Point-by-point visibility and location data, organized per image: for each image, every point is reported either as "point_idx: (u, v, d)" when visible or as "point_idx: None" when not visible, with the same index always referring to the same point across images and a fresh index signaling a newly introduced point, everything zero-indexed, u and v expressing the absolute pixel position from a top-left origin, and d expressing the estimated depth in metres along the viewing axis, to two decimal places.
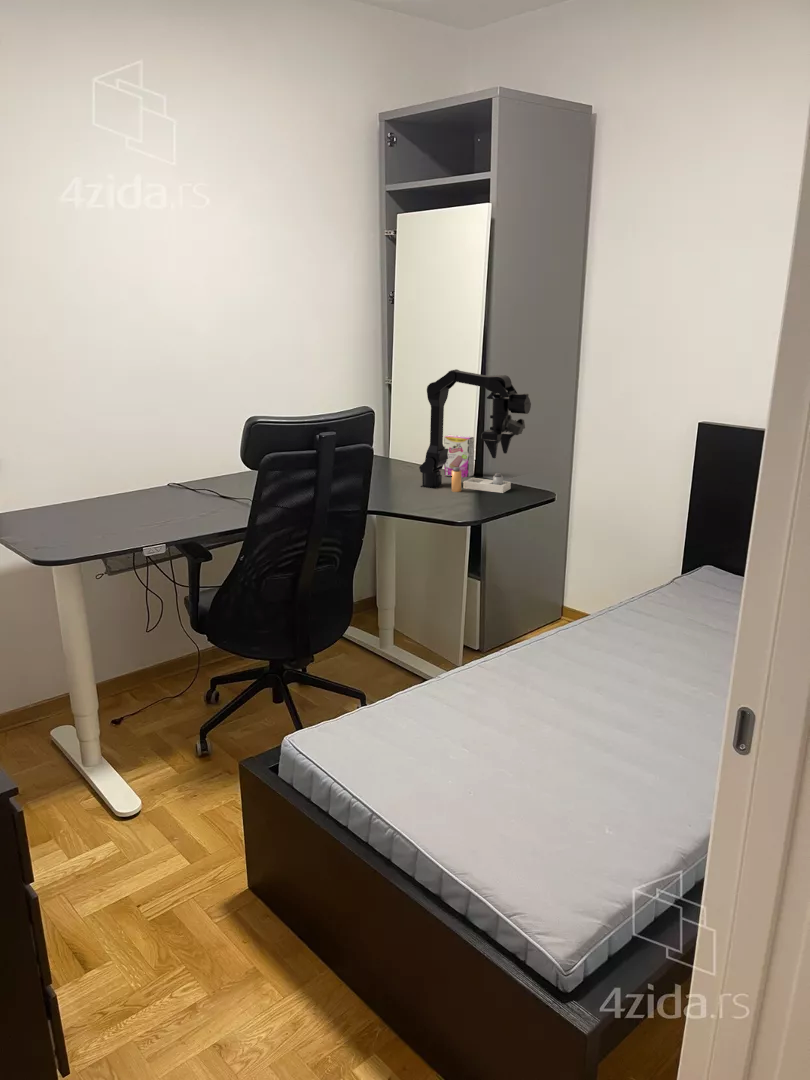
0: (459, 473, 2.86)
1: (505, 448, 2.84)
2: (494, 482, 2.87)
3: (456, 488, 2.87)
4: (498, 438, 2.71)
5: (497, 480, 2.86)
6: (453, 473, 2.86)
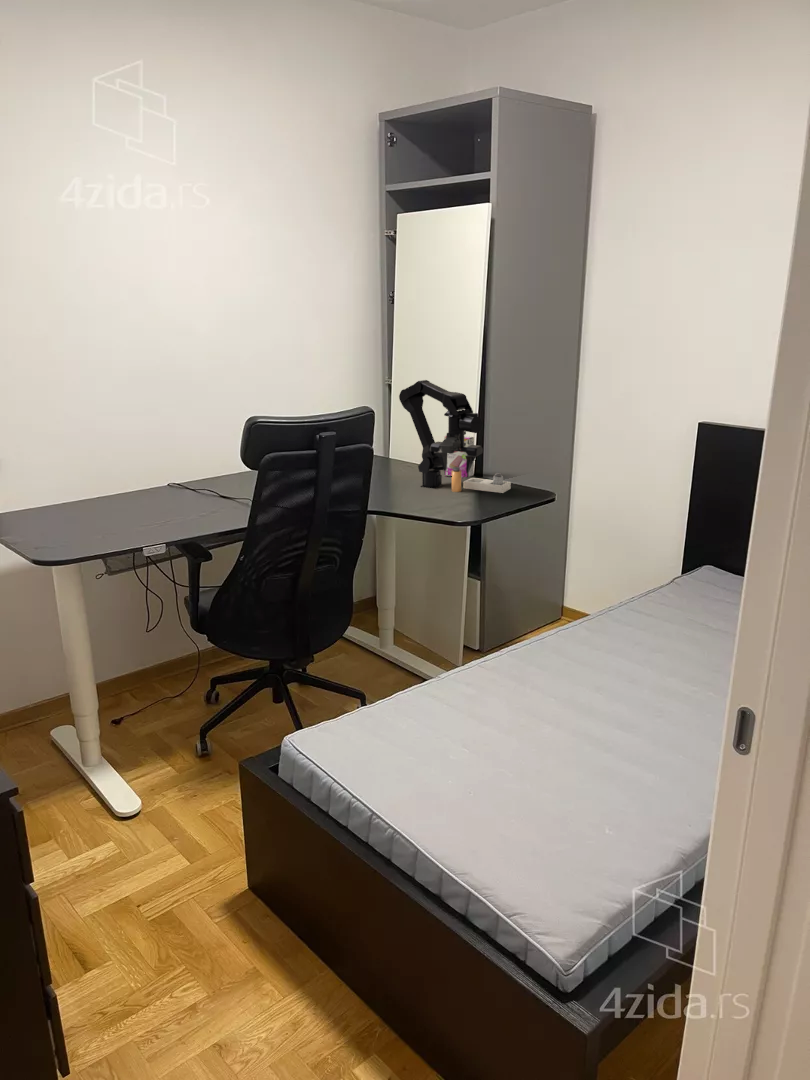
0: (459, 473, 2.86)
1: None
2: (494, 482, 2.87)
3: (456, 488, 2.87)
4: (433, 450, 2.86)
5: (497, 480, 2.86)
6: (453, 473, 2.86)
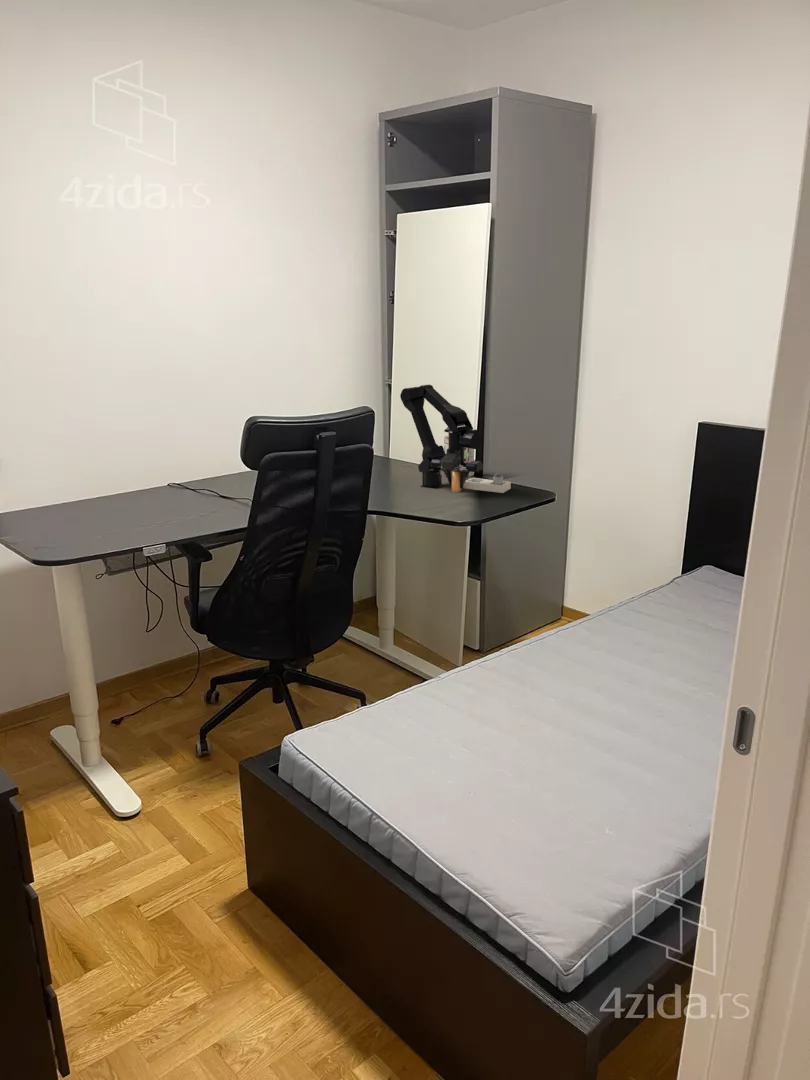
0: (459, 473, 2.86)
1: None
2: (494, 482, 2.87)
3: (456, 489, 2.87)
4: (433, 466, 2.88)
5: (497, 480, 2.86)
6: (453, 473, 2.86)
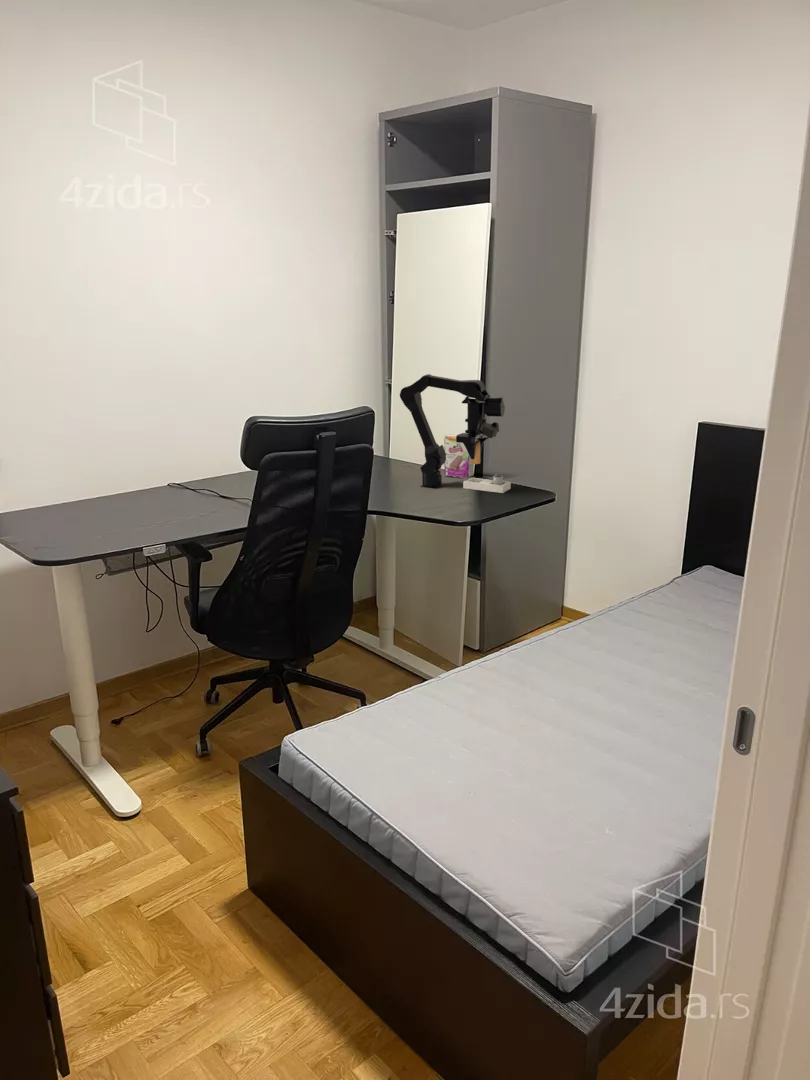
0: None
1: None
2: (494, 482, 2.87)
3: None
4: (472, 441, 2.79)
5: (497, 480, 2.86)
6: (479, 443, 2.87)
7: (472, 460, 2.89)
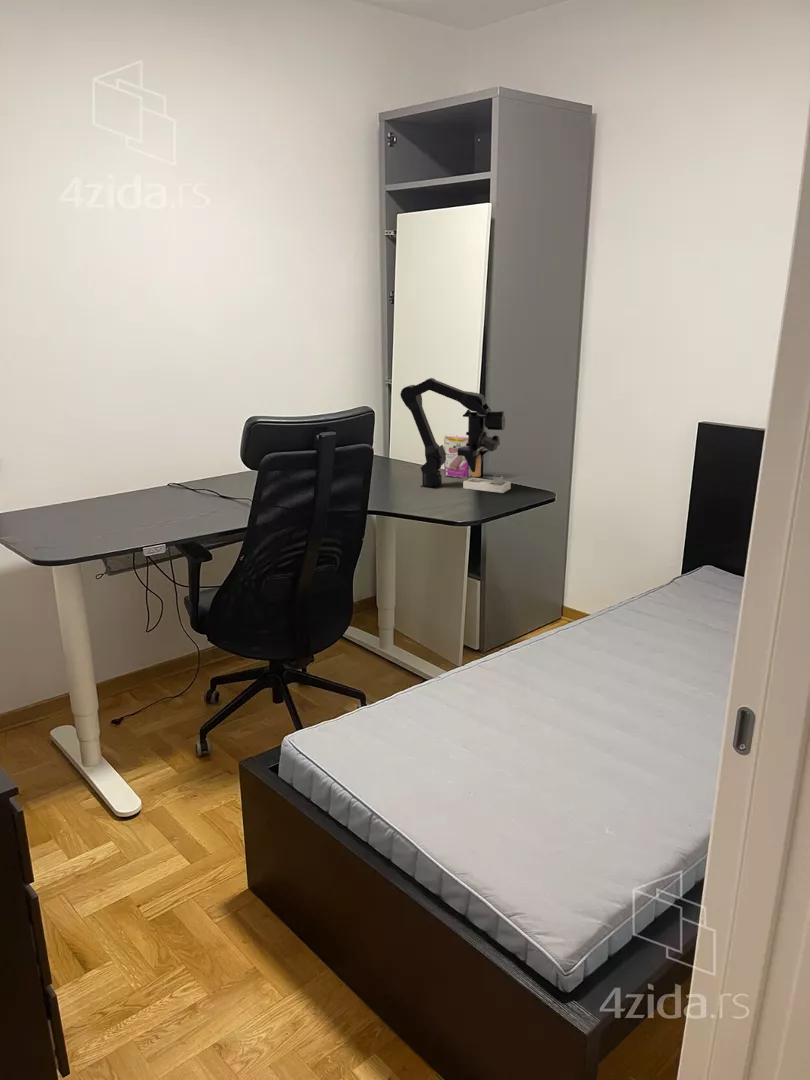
0: None
1: None
2: (494, 482, 2.87)
3: (480, 471, 2.91)
4: (474, 454, 2.81)
5: (497, 480, 2.86)
6: (479, 456, 2.89)
7: (473, 473, 2.90)
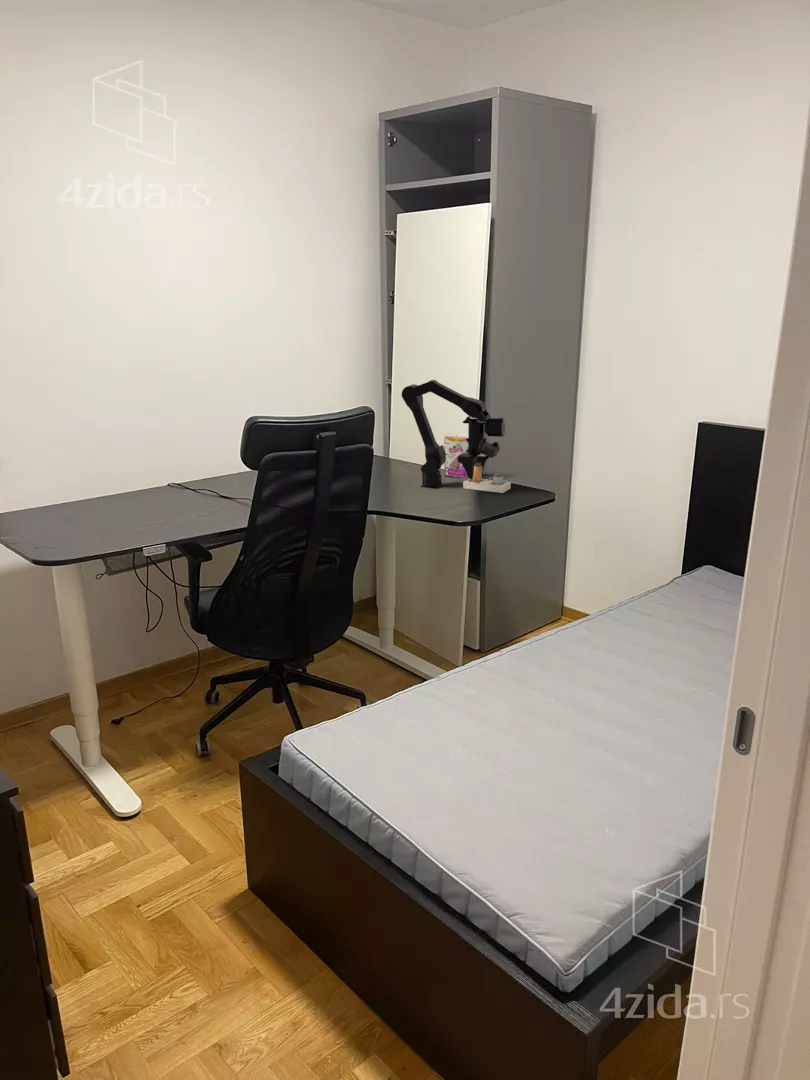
0: None
1: None
2: (494, 482, 2.87)
3: None
4: (474, 461, 2.82)
5: (497, 480, 2.86)
6: (481, 468, 2.90)
7: None
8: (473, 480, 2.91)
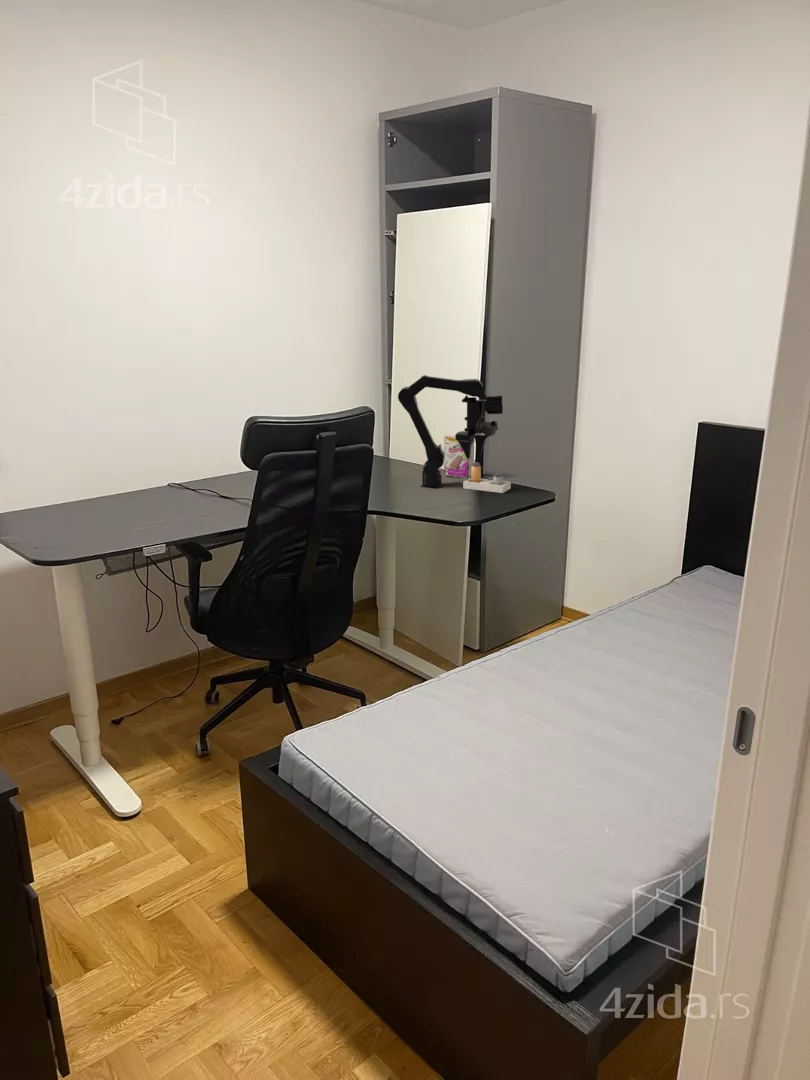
0: None
1: (480, 449, 2.97)
2: (494, 482, 2.87)
3: None
4: (471, 439, 2.84)
5: (497, 480, 2.86)
6: (479, 468, 2.90)
7: None
8: (472, 480, 2.91)
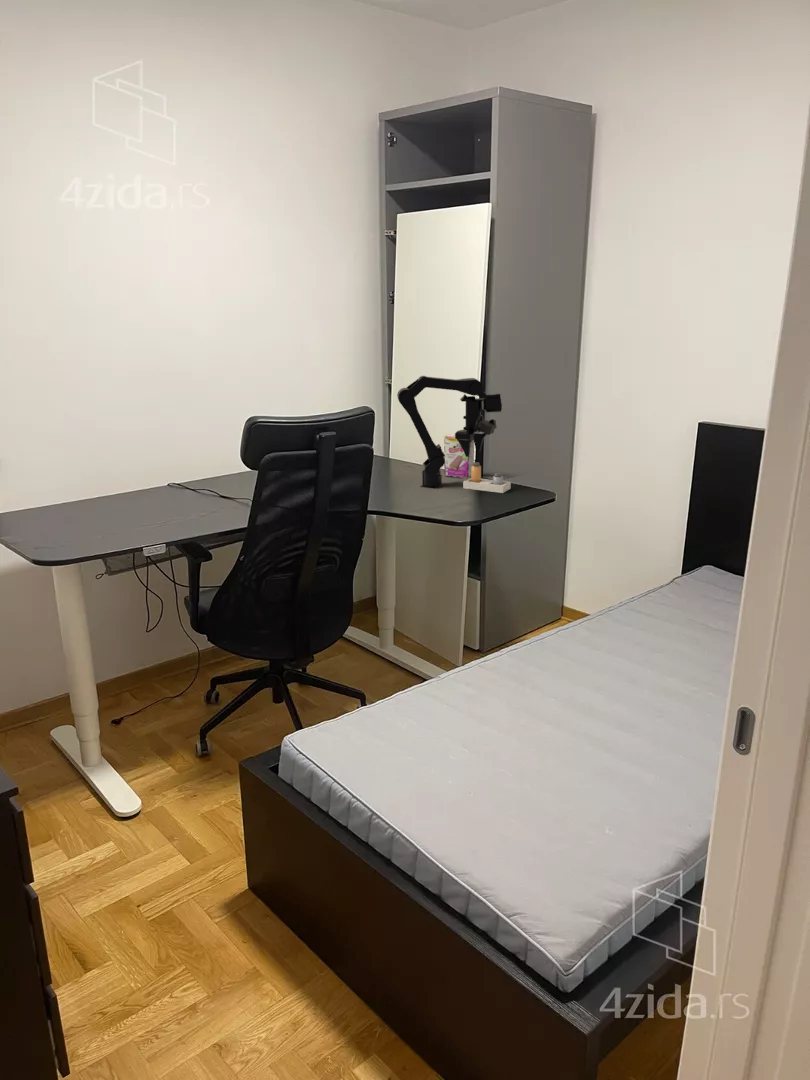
0: None
1: (478, 447, 3.00)
2: (494, 482, 2.87)
3: None
4: (471, 437, 2.86)
5: (497, 480, 2.86)
6: (479, 468, 2.90)
7: None
8: (472, 480, 2.91)
